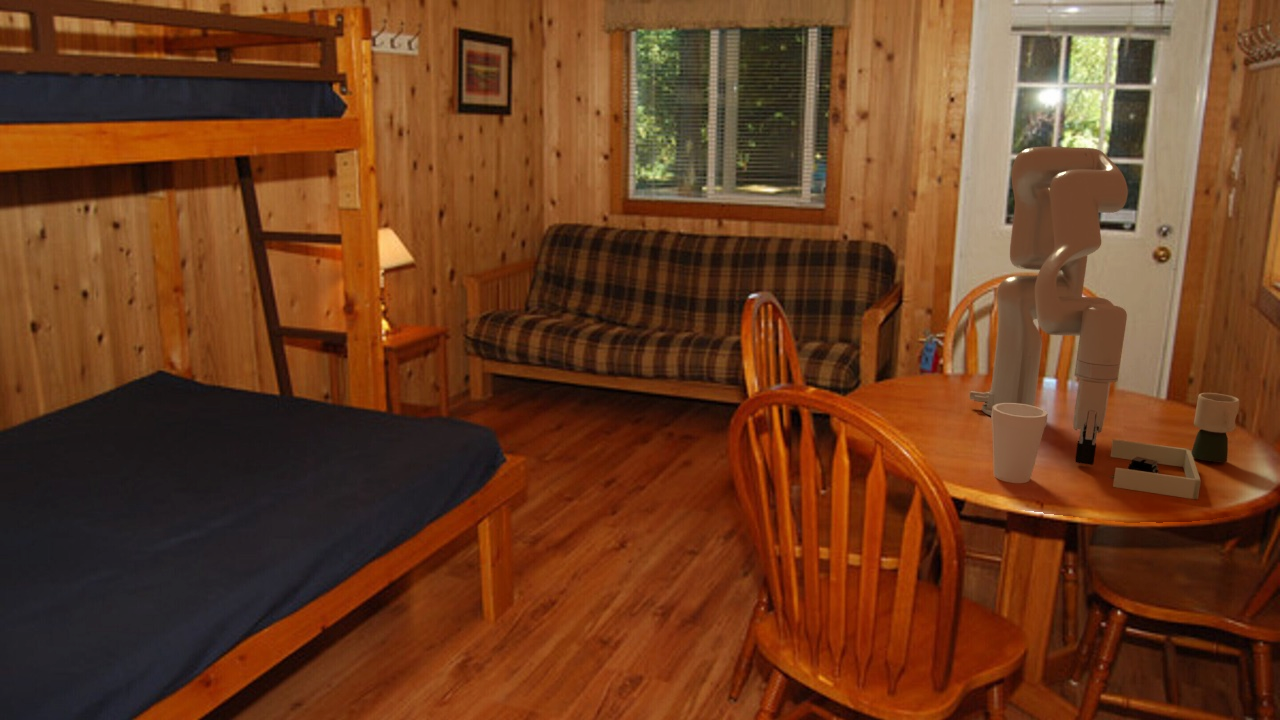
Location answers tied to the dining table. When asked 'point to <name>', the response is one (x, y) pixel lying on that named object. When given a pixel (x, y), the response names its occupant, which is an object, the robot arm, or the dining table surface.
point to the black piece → (1143, 465)
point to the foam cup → (1016, 440)
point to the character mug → (1214, 425)
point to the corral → (1155, 481)
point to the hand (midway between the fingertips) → (1084, 462)
